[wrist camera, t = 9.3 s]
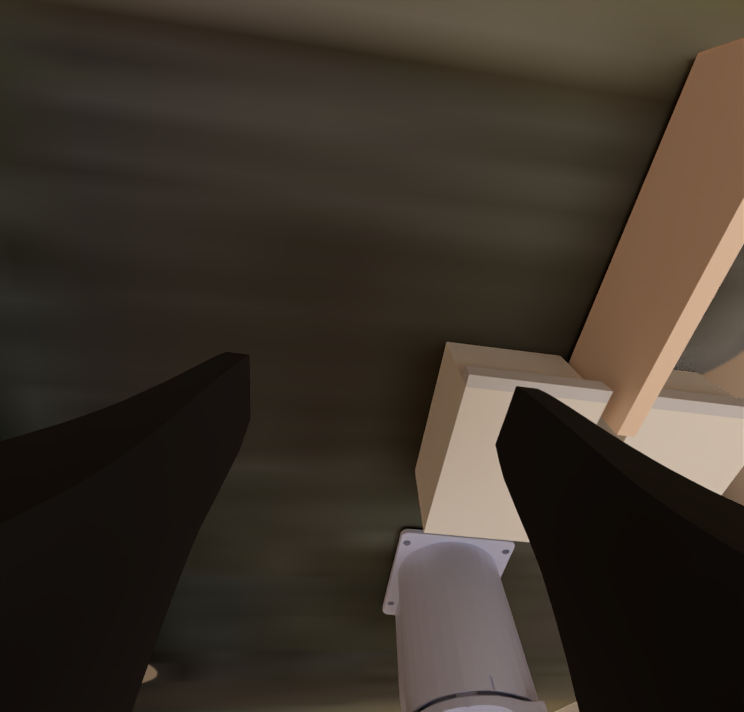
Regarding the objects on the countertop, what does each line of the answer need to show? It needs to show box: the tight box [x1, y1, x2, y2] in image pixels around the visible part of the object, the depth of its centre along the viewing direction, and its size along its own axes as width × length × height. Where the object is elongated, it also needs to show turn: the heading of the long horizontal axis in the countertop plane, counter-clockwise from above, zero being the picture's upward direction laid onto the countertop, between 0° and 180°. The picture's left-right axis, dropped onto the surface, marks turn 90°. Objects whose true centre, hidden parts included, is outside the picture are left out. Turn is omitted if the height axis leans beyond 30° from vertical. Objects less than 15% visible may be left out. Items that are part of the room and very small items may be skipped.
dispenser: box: [415, 342, 744, 542], centre depth 20 cm, size 10×14×4 cm
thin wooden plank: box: [568, 38, 744, 437], centre depth 15 cm, size 14×1×5 cm, turn 172°
